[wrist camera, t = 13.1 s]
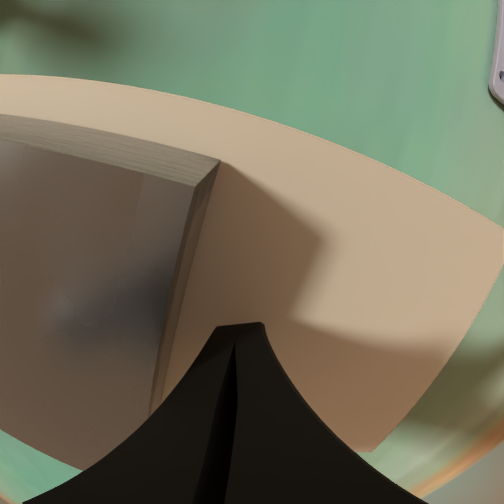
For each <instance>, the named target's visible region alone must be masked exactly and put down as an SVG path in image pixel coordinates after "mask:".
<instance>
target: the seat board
mask: <svg viewBox="0 0 504 504" xmlns="http://www.w3.org/2000/svg"><path fill="white" fill-rule="evenodd" d="M0 114H6V115H14V116H21V117H28V118H35V119H41V120H48V121H54V122H60V123H65V124H71V125H76V126H82V127H87V128H92V129H97V130H102V131H107V132H112V133H116V134H121V135H126V136H130V137H134V138H139V139H143V140H147V141H152V142H156V143H160V144H164V145H168V146H172V147H176V148H180V149H183V150H187V151H191V152H195V153H198V154H202V155H206V156H209V157H213V158H216V159H220V160H221V162H220V165H219V168H218V172H217V175H216V178H215V182H214V185H213V189H212V192H211V196H210V199H209V203H208V206H207V210H206V213H205V217H204V221H203V224H202V228H201V232H200V235H199V239H198V243H197V247H196V250H195V254H194V258H193V262H192V266H191V270H190V274H189V278H188V282H187V286H186V290H185V294H184V298H183V302H182V306H181V311H180V315H179V319H178V324H177V328H176V332H175V337H174V341H173V346H172V351H171V355H170V360H169V365H168V369H167V374H166V379H165V384H164V389H163V394H162V399H161V404H162V402H163V401H164V400H165V399H166V397H167V396H168V395H169V394H170V393H171V391H172V390H173V389H174V388H175V386H176V385H177V384H178V383H179V381H180V380H181V379H182V377H183V376H184V375H185V373H186V372H187V370H188V369H189V367H190V366H191V365H192V363H193V362H194V360H195V359H196V357H197V356H198V354H199V353H200V351H201V350H202V348H203V347H204V345H205V343H206V342H207V340H208V338H209V337H210V335H211V334H212V332H213V330H214V329H215V328H216V327H217V326H224V325H233V324H243V323H252V322H262V323H263V324H264V325H265V330H266V334H267V337H268V340H269V342H270V344H271V347H272V349H273V351H274V353H275V355H276V357H277V359H278V360H279V362H280V364H281V365H282V367H283V369H284V370H285V372H286V374H287V375H288V377H289V378H290V380H291V381H292V383H293V384H294V386H295V387H296V389H297V390H298V391H299V393H300V394H301V396H302V397H303V398H304V399H305V401H306V402H307V403H308V404H309V406H310V407H311V408H312V409H313V411H314V412H315V413H316V414H317V415H318V416H319V417H320V419H321V420H322V421H323V422H324V423H325V424H326V425H327V426H328V427H329V428H330V429H331V430H332V431H333V432H334V433H335V434H336V435H337V436H338V437H339V438H340V439H341V440H342V441H343V442H344V443H345V444H346V445H347V446H349V447H350V448H351V449H352V450H353V451H354V452H372V451H373V450H374V449H375V448H376V447H377V446H378V445H379V444H380V443H381V442H382V441H383V440H384V439H385V438H386V437H387V436H388V435H389V434H390V433H391V432H392V430H393V429H394V428H395V427H396V426H397V425H398V424H399V423H400V422H401V420H402V419H403V418H404V417H405V416H406V415H407V413H408V412H409V411H410V410H411V409H412V408H413V406H414V405H415V404H416V403H417V401H418V400H419V399H420V398H421V396H422V395H423V394H424V393H425V391H426V390H427V389H428V388H429V386H430V385H431V384H432V382H433V381H434V380H435V378H436V377H437V376H438V374H439V373H440V371H441V370H442V369H443V367H444V366H445V364H446V363H447V362H448V360H449V359H450V357H451V356H452V354H453V353H454V351H455V350H456V348H457V347H458V345H459V344H460V342H461V341H462V339H463V338H464V336H465V334H466V333H467V331H468V329H469V328H470V326H471V325H472V323H473V321H474V319H475V318H476V316H477V314H478V313H479V311H480V309H481V307H482V306H483V304H484V302H485V300H486V298H487V296H488V294H489V293H490V291H491V289H492V287H493V285H494V283H495V281H496V279H497V277H498V275H499V273H500V271H501V269H502V266H503V264H504V229H503V228H502V227H500V226H499V225H497V224H495V223H494V222H492V221H491V220H489V219H487V218H486V217H484V216H482V215H481V214H479V213H477V212H476V211H474V210H472V209H470V208H469V207H467V206H465V205H464V204H462V203H460V202H458V201H456V200H455V199H453V198H451V197H449V196H447V195H445V194H444V193H442V192H440V191H438V190H436V189H434V188H432V187H430V186H428V185H426V184H424V183H422V182H421V181H419V180H416V179H414V178H412V177H410V176H408V175H406V174H404V173H402V172H400V171H398V170H396V169H394V168H391V167H389V166H387V165H385V164H383V163H380V162H378V161H376V160H374V159H371V158H369V157H367V156H364V155H362V154H360V153H357V152H355V151H353V150H350V149H348V148H345V147H343V146H340V145H338V144H335V143H333V142H330V141H327V140H325V139H322V138H320V137H317V136H314V135H311V134H309V133H306V132H303V131H300V130H297V129H295V128H292V127H289V126H286V125H283V124H280V123H277V122H274V121H271V120H268V119H264V118H261V117H258V116H255V115H251V114H248V113H245V112H241V111H238V110H234V109H231V108H227V107H223V106H219V105H216V104H212V103H208V102H204V101H200V100H196V99H192V98H187V97H183V96H179V95H174V94H169V93H165V92H160V91H155V90H149V89H144V88H139V87H133V86H127V85H121V84H114V83H107V82H100V81H93V80H84V79H75V78H65V77H53V76H38V75H13V74H0ZM161 404H160V405H161Z"/></svg>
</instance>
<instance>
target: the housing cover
mask: <svg viewBox="0 0 504 504" xmlns="http://www.w3.org/2000/svg"><path fill="white" fill-rule="evenodd" d="M220 162H221V160H220V159H216V158H213V157H209V156H206V155H202V154H198V153H195V152H191V151H187V150H183V149H180V148H176V147H172V146H168V145H164V144H160V143H156V142H152V141H147V140H143V139H139V138H134V137H130V136H126V135H121V134H116V133H112V132H107V131H102V130H97V129H92V128H87V127H82V126H76V125H71V124H65V123H60V122H54V121H48V120H41V119H35V118H28V117H21V116H14V115H6V114H0V429H1V430H3V431H4V432H6V433H8V434H9V435H11V436H13V437H14V438H16V439H18V440H20V441H22V442H23V443H25V444H27V445H29V446H31V447H33V448H35V449H36V450H38V451H40V452H42V453H44V454H46V455H48V456H51V457H53V458H55V459H57V460H59V461H61V462H63V463H66V464H68V465H70V466H73V467H75V468H77V469H80V470H82V471H85V470H86V469H88V468H89V467H91V466H92V465H93V464H95V463H96V462H98V461H99V460H101V459H102V458H103V457H105V456H106V455H107V454H109V453H110V452H111V451H112V450H113V449H115V448H116V447H117V446H118V445H119V444H121V443H122V442H123V441H124V440H126V439H127V438H128V437H129V436H130V435H131V434H132V433H133V432H135V431H136V430H137V429H138V428H139V427H140V426H141V425H142V424H143V423H144V422H145V421H146V420H147V419H148V418H149V417H150V416H151V415H152V413H153V412H154V411H155V410H156V409H157V408H158V407H159V406H160V404H161V399H162V394H163V389H164V384H165V379H166V374H167V369H168V365H169V360H170V355H171V351H172V346H173V341H174V337H175V332H176V328H177V324H178V319H179V315H180V311H181V306H182V302H183V298H184V294H185V290H186V286H187V282H188V278H189V274H190V270H191V266H192V262H193V258H194V254H195V250H196V247H197V243H198V239H199V235H200V232H201V228H202V224H203V221H204V217H205V213H206V210H207V206H208V203H209V199H210V196H211V192H212V189H213V185H214V182H215V178H216V175H217V172H218V168H219V165H220Z"/></svg>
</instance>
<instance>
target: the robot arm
mask: <svg viewBox="0 0 504 504" xmlns="http://www.w3.org/2000/svg"><path fill="white" fill-rule="evenodd" d="M499 74H500V76H501V80H500V77H499ZM488 85H489V89H490V91H491V93H492V95H493V96H494V97H495V98H496V99H498V100H499V101H500V102H501V103H502V104H503V105H504V0H498V16H497V27H496V36H495V44H494V52H493V58H492V65H491V70H490V76H489V84H488ZM23 504H428V503H426V502H425V501H423V500H421V499H419V498H418V497H416V496H414V495H413V494H411V493H409V492H408V491H406V490H405V489H403V488H401V487H400V486H398V485H397V484H395V483H394V482H392V481H391V480H390V479H388V478H387V477H385V476H384V475H383V474H381V473H380V472H379V471H377V470H376V469H375V468H373V467H372V466H371V465H369V464H368V463H367V462H366V461H365V460H363V459H362V458H361V457H360V456H359V455H358V454H357V453H355V452H354V451H353V450H352V449H351V448H350V447H349V446H347V445H346V444H345V443H344V442H343V441H342V440H341V439H340V438H339V437H338V436H337V435H336V434H335V433H334V432H333V431H332V430H331V429H330V428H329V427H328V426H327V425H326V424H325V423H324V422H323V421H322V420H321V419H320V417H319V416H318V415H317V414H316V413H315V412H314V411H313V409H312V408H311V407H310V406H309V404H308V403H307V402H306V401H305V399H304V398H303V397H302V396H301V394H300V393H299V391H298V390H297V389H296V387H295V386H294V384H293V383H292V381H291V380H290V378H289V377H288V375H287V374H286V372H285V370H284V369H283V367H282V365H281V364H280V362H279V360H278V359H277V357H276V355H275V353H274V351H273V349H272V347H271V344H270V342H269V340H268V337H267V334H266V330H265V325H264V324H263V323H262V322H252V323H243V324H233V325H224V326H217V327H216V328H215V329H214V330H213V332H212V334H211V335H210V337H209V338H208V340H207V342H206V343H205V345H204V347H203V348H202V350H201V351H200V353H199V354H198V356H197V357H196V359H195V360H194V362H193V363H192V365H191V366H190V367H189V369H188V370H187V372H186V373H185V375H184V376H183V377H182V379H181V380H180V381H179V383H178V384H177V385H176V386H175V388H174V389H173V390H172V391H171V393H170V394H169V395H168V396H167V397H166V399H165V400H164V401H163V402H162V404H161V405H160V406H159V407H158V408H157V409H156V410H155V411H154V412H153V413H152V415H151V416H150V417H149V418H148V419H147V420H146V421H145V422H144V423H143V424H142V425H141V426H140V427H139V428H138V429H137V430H136V431H135V432H133V433H132V434H131V435H130V436H129V437H128V438H127V439H126V440H124V441H123V442H122V443H121V444H119V445H118V446H117V447H116V448H115V449H113V450H112V451H111V452H110V453H109V454H107V455H106V456H105V457H103V458H102V459H101V460H99V461H98V462H96V463H95V464H93V465H92V466H91V467H89V468H88V469H86V470H85V471H83V472H81V473H80V474H78V475H77V476H75V477H73V478H72V479H70V480H68V481H66V482H65V483H63V484H61V485H59V486H57V487H55V488H53V489H51V490H49V491H47V492H45V493H43V494H41V495H39V496H36V497H34V498H32V499H30V500H27V501H25V502H23Z"/></svg>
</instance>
